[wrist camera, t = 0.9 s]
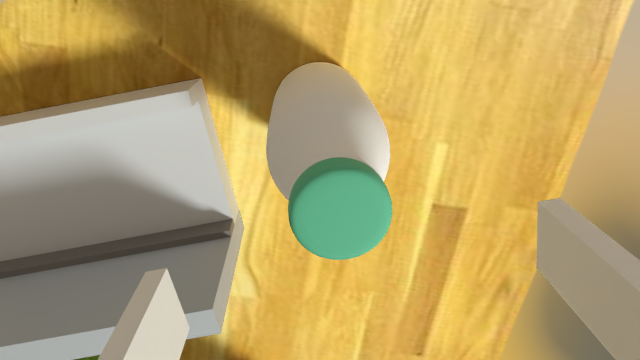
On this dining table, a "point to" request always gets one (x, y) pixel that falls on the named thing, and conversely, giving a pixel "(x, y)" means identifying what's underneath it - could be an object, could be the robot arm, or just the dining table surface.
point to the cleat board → (111, 217)
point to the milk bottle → (330, 161)
